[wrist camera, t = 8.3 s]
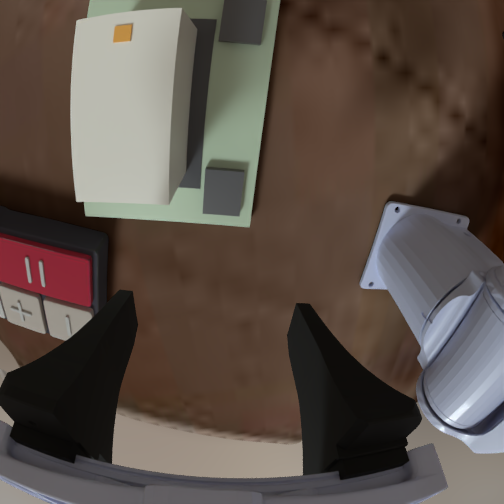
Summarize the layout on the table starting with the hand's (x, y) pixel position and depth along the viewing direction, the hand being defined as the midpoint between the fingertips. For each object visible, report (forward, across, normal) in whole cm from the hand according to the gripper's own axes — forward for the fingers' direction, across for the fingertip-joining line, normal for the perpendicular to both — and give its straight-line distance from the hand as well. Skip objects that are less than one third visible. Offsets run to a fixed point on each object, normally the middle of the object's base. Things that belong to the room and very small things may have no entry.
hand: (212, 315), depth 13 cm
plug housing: (+9, +5, -8) cm, 13 cm away
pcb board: (+10, +4, -8) cm, 13 cm away
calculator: (+10, +17, +6) cm, 21 cm away
